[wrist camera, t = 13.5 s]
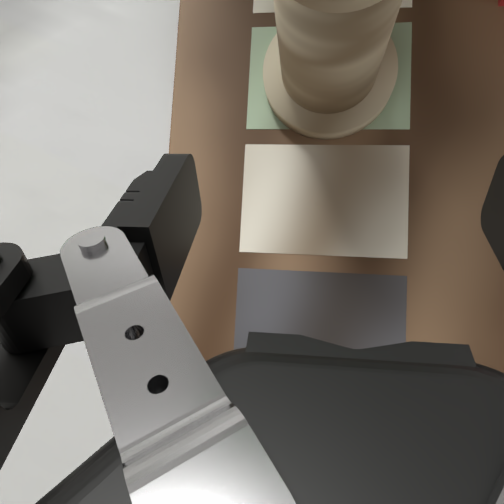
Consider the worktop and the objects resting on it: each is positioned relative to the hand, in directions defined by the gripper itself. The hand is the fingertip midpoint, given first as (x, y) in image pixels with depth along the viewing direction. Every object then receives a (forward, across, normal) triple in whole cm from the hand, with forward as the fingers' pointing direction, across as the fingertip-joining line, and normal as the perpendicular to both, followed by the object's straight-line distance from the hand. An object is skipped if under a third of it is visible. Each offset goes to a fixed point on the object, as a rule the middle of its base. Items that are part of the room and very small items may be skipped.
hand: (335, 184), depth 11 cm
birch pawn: (+9, 0, 0) cm, 9 cm away
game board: (+7, -3, +2) cm, 8 cm away
